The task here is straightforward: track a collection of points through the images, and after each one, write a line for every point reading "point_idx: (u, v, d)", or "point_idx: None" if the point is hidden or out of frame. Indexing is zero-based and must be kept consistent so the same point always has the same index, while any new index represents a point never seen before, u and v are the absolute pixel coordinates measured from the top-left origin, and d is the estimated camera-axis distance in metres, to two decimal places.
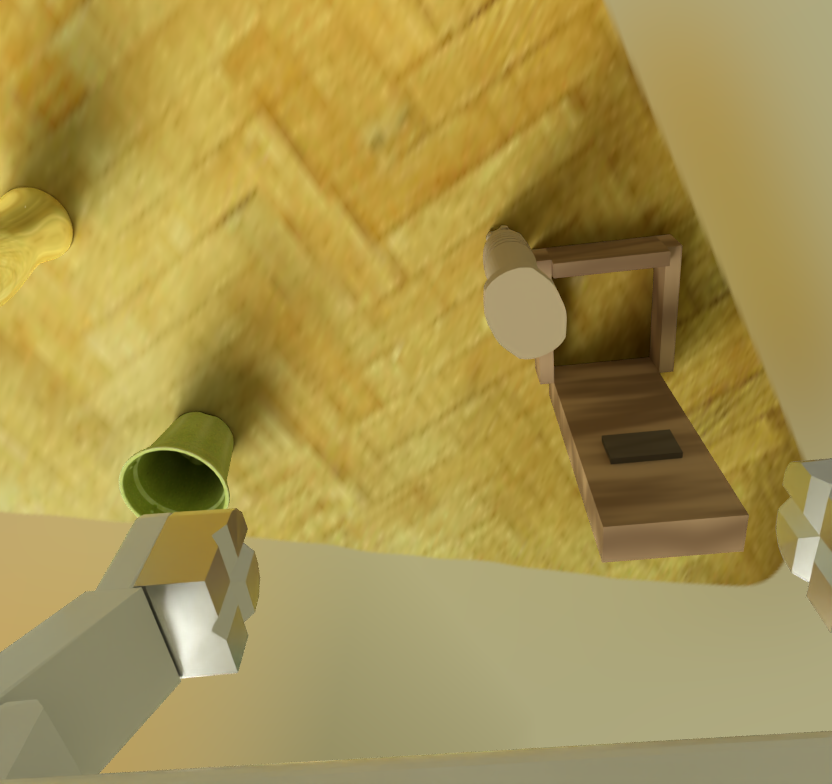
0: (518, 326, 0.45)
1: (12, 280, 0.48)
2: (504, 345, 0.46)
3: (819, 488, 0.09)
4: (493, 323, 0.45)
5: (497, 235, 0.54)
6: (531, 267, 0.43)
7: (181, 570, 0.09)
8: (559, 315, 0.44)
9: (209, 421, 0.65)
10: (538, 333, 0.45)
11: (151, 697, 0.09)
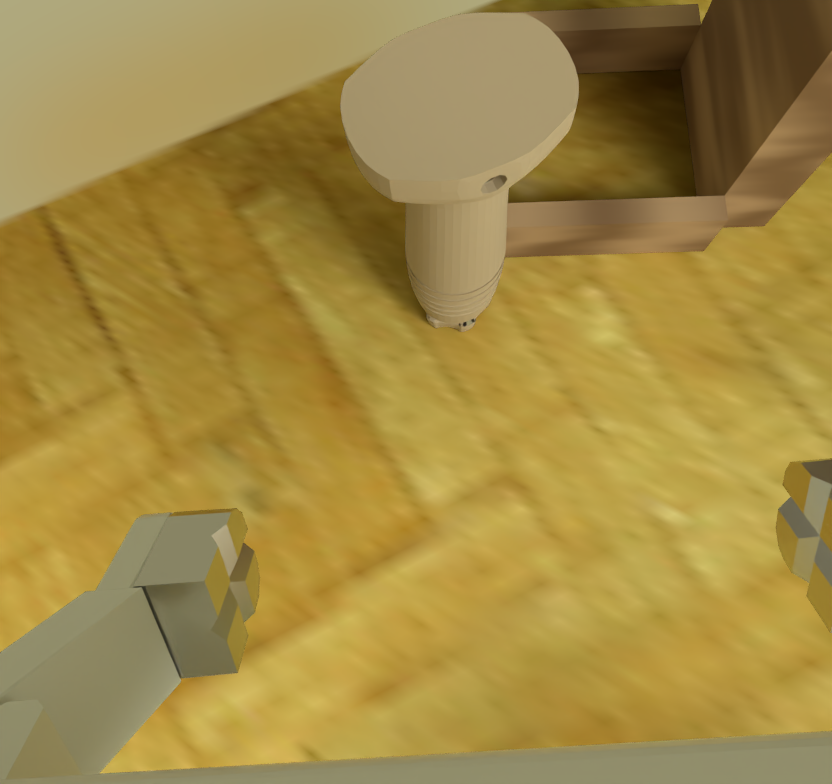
0: (487, 108, 0.18)
1: None
2: (538, 139, 0.18)
3: (819, 488, 0.09)
4: (476, 163, 0.18)
5: None
6: None
7: (181, 570, 0.09)
8: (467, 27, 0.19)
9: None
10: (510, 68, 0.19)
11: (151, 697, 0.09)
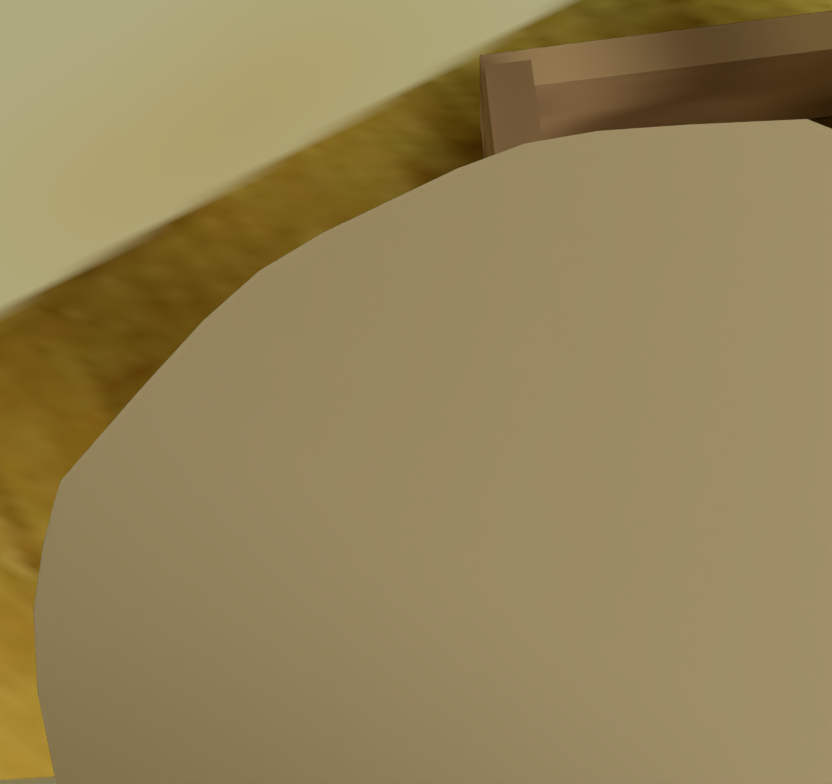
0: (712, 605, 0.04)
1: None
2: None
3: None
4: None
5: None
6: None
7: None
8: (569, 198, 0.05)
9: None
10: (785, 381, 0.04)
11: None
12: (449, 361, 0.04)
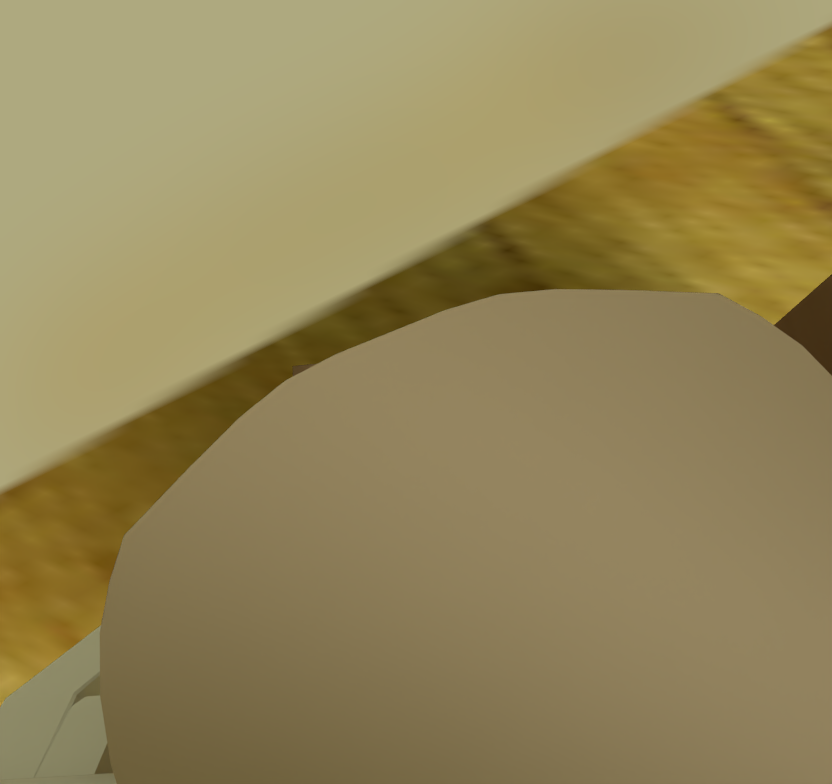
0: (603, 673, 0.05)
1: None
2: None
3: None
4: None
5: None
6: None
7: None
8: (528, 342, 0.06)
9: None
10: (677, 503, 0.05)
11: None
12: (425, 466, 0.06)
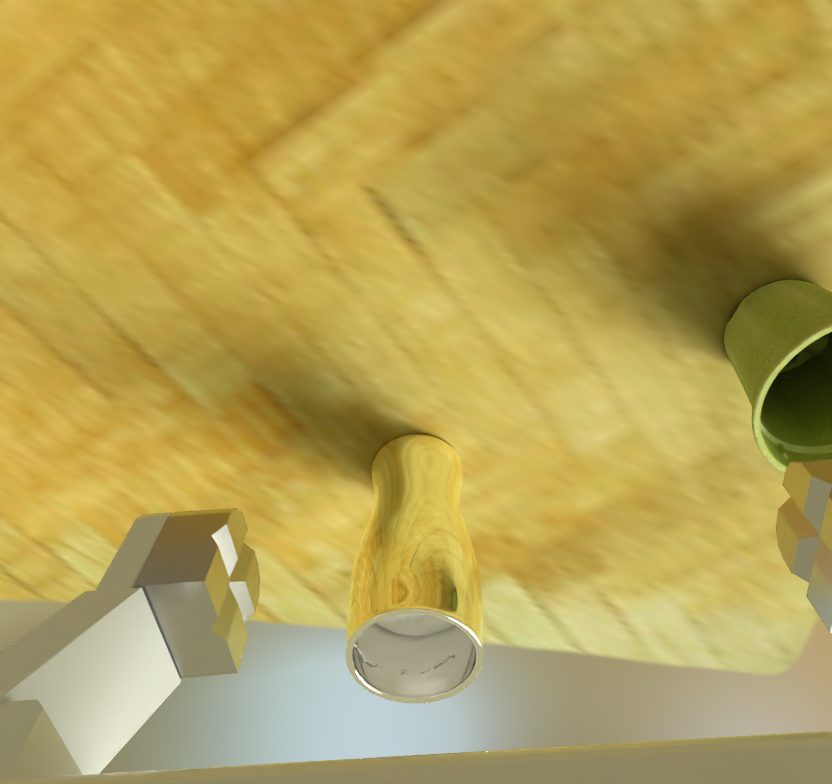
0: None
1: (433, 543, 0.35)
2: None
3: (819, 488, 0.09)
4: None
5: None
6: None
7: (181, 570, 0.09)
8: None
9: (744, 315, 0.38)
10: None
11: (151, 697, 0.09)
12: None
